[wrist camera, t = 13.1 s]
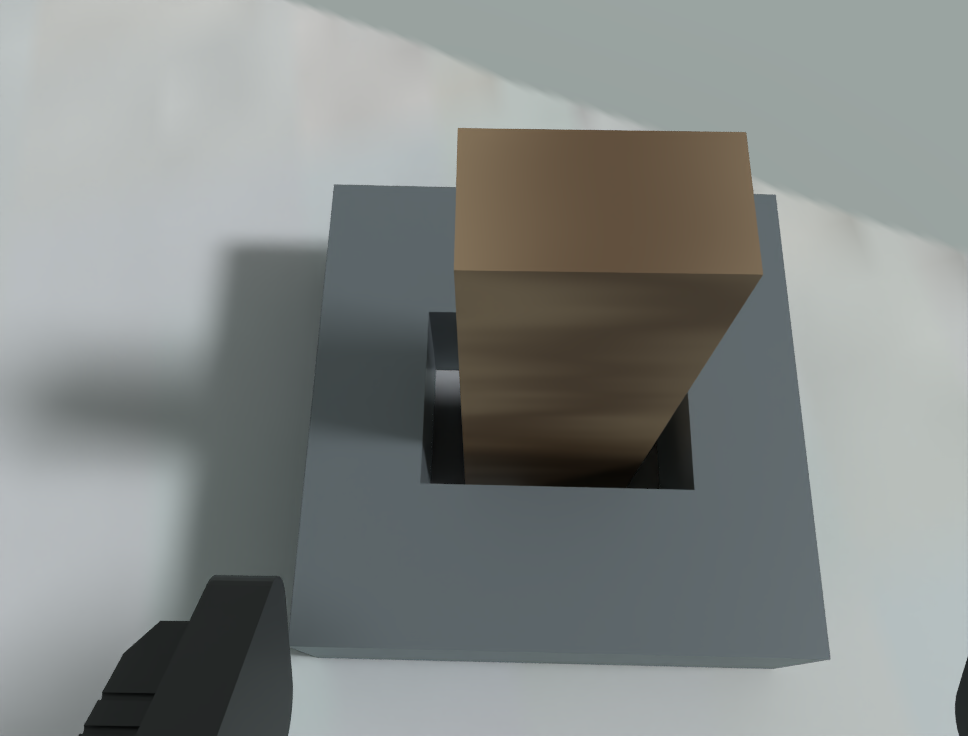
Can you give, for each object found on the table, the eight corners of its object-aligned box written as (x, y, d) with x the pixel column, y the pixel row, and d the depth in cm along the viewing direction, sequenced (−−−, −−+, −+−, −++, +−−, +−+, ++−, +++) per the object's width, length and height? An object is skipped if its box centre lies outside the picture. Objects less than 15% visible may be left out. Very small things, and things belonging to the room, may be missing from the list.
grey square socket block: (317, 657, 23) (287, 646, 19) (353, 256, 28) (334, 184, 24) (773, 668, 23) (830, 659, 19) (735, 265, 27) (775, 194, 24)
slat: (465, 488, 25) (454, 269, 13) (467, 405, 26) (457, 128, 14) (624, 490, 25) (763, 274, 13) (620, 407, 26) (746, 132, 14)
